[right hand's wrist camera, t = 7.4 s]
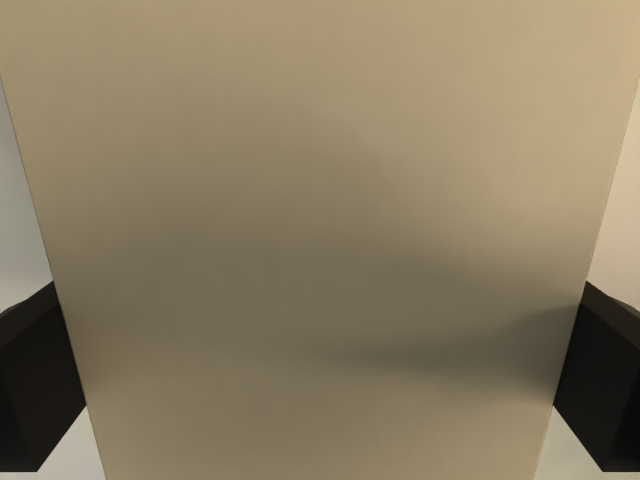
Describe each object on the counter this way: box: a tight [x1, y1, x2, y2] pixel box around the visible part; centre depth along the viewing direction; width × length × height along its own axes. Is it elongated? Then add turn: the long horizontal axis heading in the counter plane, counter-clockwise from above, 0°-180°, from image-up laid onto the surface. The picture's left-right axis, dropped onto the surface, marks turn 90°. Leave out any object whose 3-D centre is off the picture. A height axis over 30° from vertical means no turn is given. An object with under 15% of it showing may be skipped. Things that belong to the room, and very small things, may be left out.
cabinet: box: [0, 0, 640, 480], centre depth 11 cm, size 21×11×9 cm, turn 0°
